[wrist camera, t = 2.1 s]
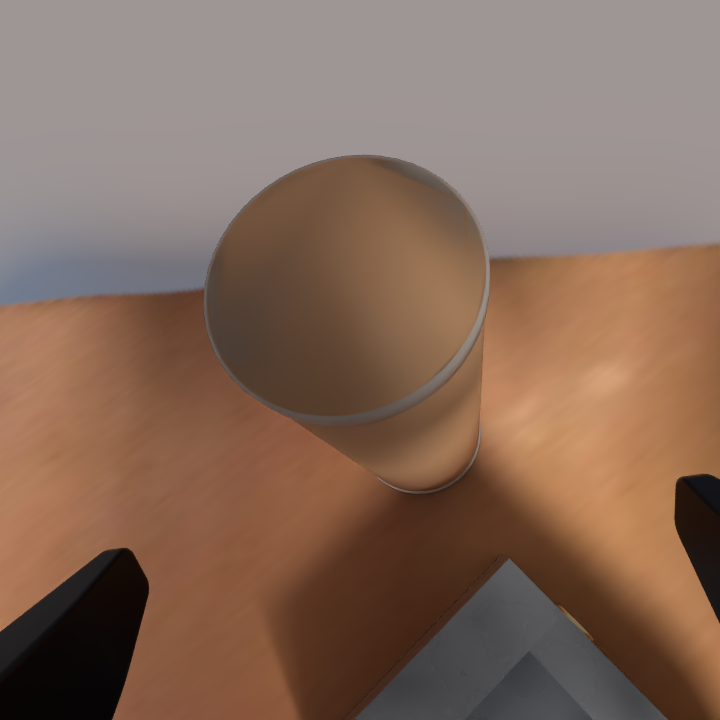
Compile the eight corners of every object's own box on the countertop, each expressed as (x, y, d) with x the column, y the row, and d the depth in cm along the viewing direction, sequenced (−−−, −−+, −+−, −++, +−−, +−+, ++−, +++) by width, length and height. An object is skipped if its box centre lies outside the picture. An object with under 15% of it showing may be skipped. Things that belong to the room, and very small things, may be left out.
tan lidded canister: (507, 431, 19) (557, 261, 8) (418, 521, 19) (327, 488, 7) (418, 350, 21) (348, 111, 9) (334, 431, 20) (153, 288, 9)
